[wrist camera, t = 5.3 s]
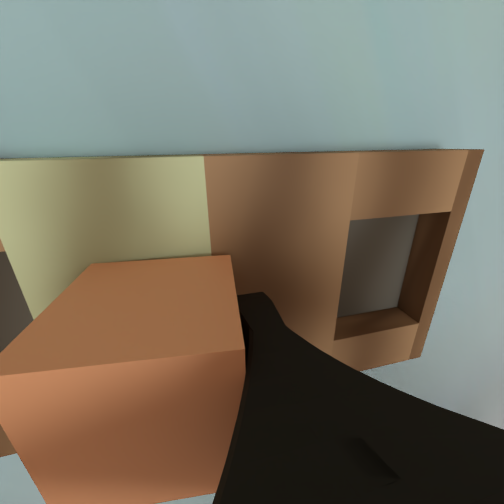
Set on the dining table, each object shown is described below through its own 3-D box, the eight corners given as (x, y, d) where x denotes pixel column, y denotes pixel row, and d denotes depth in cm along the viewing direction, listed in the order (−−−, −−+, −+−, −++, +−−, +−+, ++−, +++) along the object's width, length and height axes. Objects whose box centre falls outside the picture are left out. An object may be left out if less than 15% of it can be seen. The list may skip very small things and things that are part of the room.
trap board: (440, 148, 12) (484, 149, 11) (394, 334, 17) (420, 356, 15) (-227, 163, 7) (-362, 169, 5) (-46, 425, 11) (-89, 477, 10)
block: (230, 254, 9) (245, 348, 5) (235, 354, 11) (248, 486, 7) (91, 263, 8) (-26, 378, 4) (120, 367, 10) (56, 520, 6)
